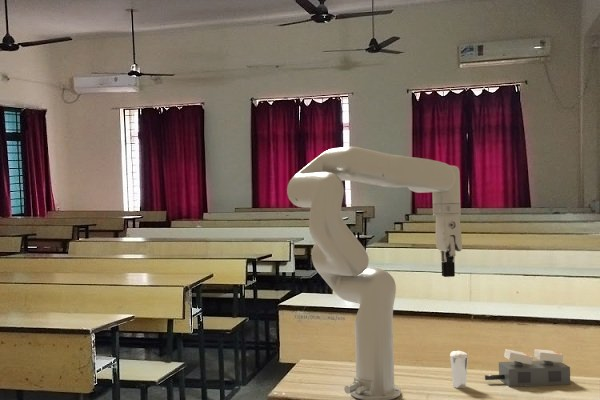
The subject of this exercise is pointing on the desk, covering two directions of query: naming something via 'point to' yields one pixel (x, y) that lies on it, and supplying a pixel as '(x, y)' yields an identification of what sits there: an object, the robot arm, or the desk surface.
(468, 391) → the desk surface
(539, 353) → the rocker
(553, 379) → the rocker switch panel
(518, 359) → the rocker
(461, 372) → the milkshake
